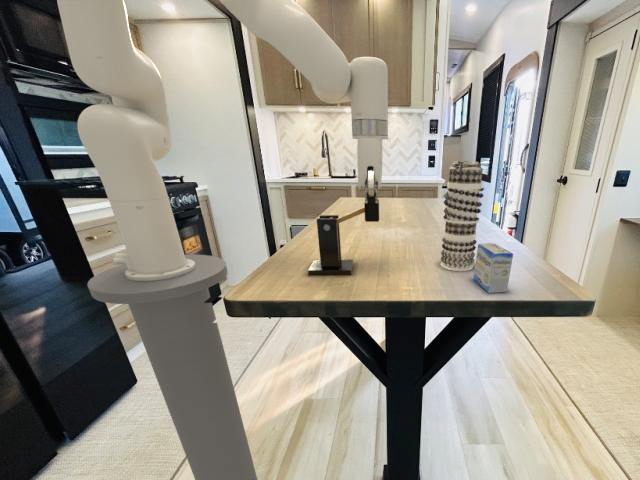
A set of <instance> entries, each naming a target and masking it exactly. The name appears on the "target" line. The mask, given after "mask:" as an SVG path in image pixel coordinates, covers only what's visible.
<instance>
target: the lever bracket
mask: <svg viewBox="0 0 640 480" xmlns="http://www.w3.org/2000/svg"><path fill="white" fill-rule="evenodd" d="M331 217H332V218H331ZM337 218H340V216H339V214H320V215H319V217H318V218H316V227H317V228H316V230H317V239H318V247H319V248H318V250H319V259H313V261H312V263H311V264H310V266H309V268H308V269H307V274H308V276H351V275H352V273H353V268H354V259H342V246H341V245H342V244H341V232H340V231H341V230H340V223H338V224H337Z"/></svg>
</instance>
